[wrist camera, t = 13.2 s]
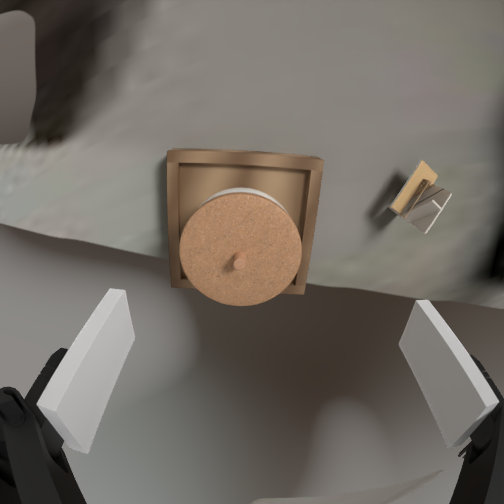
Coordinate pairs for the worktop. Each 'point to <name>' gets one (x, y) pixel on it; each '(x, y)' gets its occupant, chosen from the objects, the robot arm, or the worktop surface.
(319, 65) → the worktop surface
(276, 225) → the lidded jar
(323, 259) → the worktop surface
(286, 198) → the wooden tray
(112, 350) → the robot arm
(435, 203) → the architectural model
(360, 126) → the worktop surface
